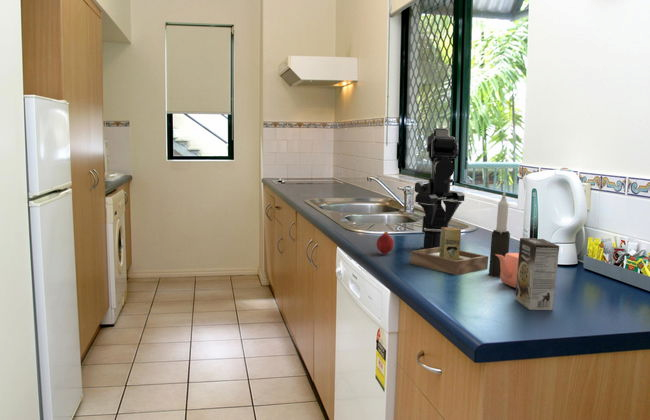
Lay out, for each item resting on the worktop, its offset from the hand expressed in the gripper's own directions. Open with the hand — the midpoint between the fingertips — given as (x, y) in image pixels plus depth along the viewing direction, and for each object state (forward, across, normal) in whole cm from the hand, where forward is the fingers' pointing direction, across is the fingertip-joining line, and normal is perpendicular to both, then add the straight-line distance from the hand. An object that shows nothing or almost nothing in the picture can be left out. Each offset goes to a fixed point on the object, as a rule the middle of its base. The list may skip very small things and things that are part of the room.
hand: (438, 223), depth 199 cm
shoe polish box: (+13, +2, +6) cm, 14 cm away
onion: (+13, +6, -17) cm, 22 cm away
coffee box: (+12, +21, +46) cm, 52 cm away
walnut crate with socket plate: (+12, +2, +6) cm, 14 cm away
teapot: (+12, +6, +34) cm, 37 cm away
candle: (+12, -1, +22) cm, 26 cm away
